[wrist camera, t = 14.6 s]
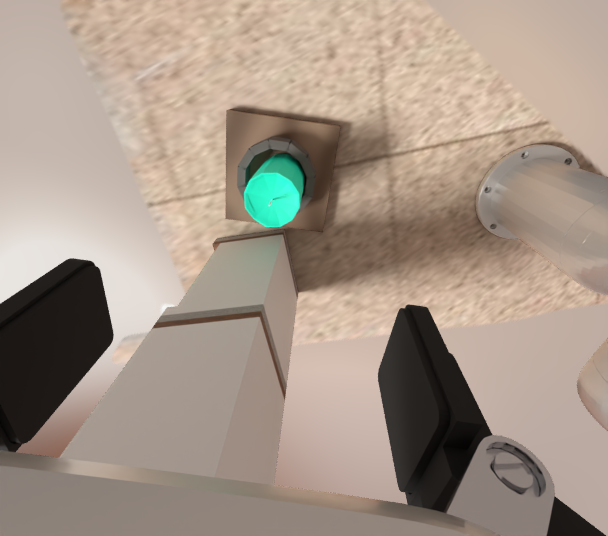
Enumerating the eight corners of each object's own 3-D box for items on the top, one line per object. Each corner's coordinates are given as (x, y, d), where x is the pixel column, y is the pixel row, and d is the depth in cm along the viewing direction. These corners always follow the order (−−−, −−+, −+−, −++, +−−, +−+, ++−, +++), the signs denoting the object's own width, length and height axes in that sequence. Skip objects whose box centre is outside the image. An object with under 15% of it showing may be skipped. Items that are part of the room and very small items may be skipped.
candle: (281, 143, 40) (266, 161, 30) (314, 177, 42) (311, 206, 32) (251, 177, 43) (227, 205, 32) (284, 208, 45) (271, 244, 34)
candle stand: (340, 125, 40) (341, 129, 37) (322, 228, 47) (322, 240, 43) (229, 109, 40) (219, 111, 36) (228, 214, 47) (219, 226, 43)
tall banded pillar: (216, 238, 49) (39, 484, 19) (284, 228, 48) (214, 476, 17) (236, 299, 54) (125, 568, 24) (298, 292, 53) (263, 567, 23)
